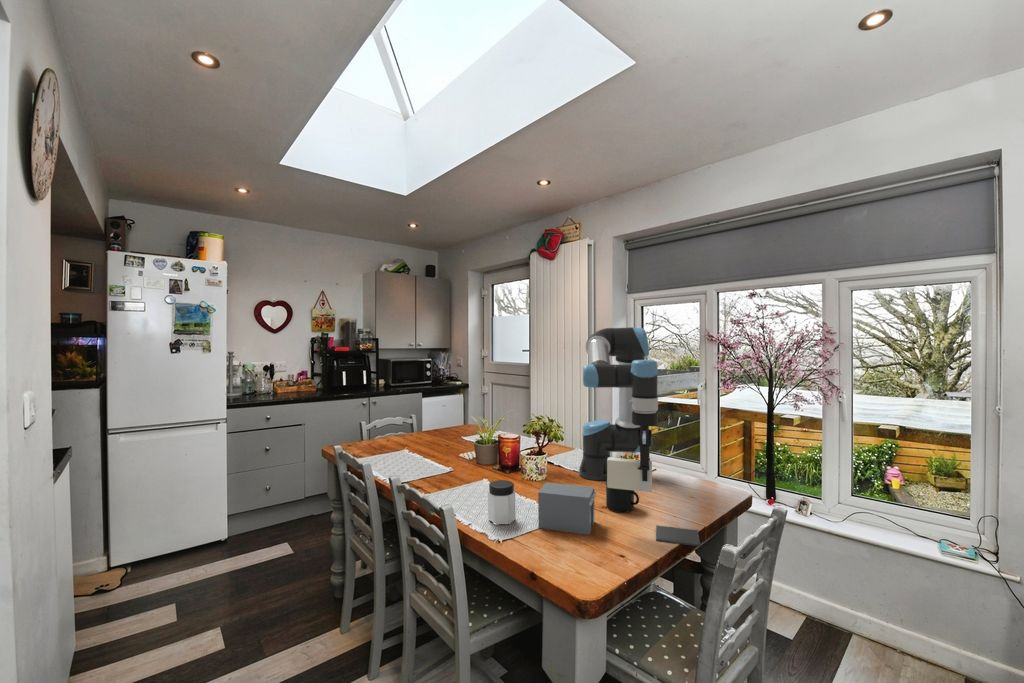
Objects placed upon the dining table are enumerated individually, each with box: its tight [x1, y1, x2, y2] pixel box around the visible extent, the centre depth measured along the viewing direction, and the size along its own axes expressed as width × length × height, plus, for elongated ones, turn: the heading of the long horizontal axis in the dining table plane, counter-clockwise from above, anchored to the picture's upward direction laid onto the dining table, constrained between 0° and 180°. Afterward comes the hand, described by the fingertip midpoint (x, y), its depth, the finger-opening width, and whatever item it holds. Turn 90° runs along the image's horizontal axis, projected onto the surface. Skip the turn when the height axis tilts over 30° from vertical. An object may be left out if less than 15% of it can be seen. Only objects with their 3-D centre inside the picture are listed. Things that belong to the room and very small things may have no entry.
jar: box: [487, 479, 516, 525], centre depth 142 cm, size 9×8×12 cm
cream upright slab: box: [606, 457, 653, 493], centre depth 132 cm, size 3×13×8 cm, turn 71°
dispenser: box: [537, 482, 597, 536], centre depth 138 cm, size 10×17×11 cm, turn 71°
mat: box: [655, 524, 702, 548], centre depth 130 cm, size 10×12×1 cm
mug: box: [605, 480, 640, 513], centre depth 151 cm, size 9×12×9 cm
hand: (645, 488), depth 131 cm, fingers closed on cream upright slab, 3 cm apart
